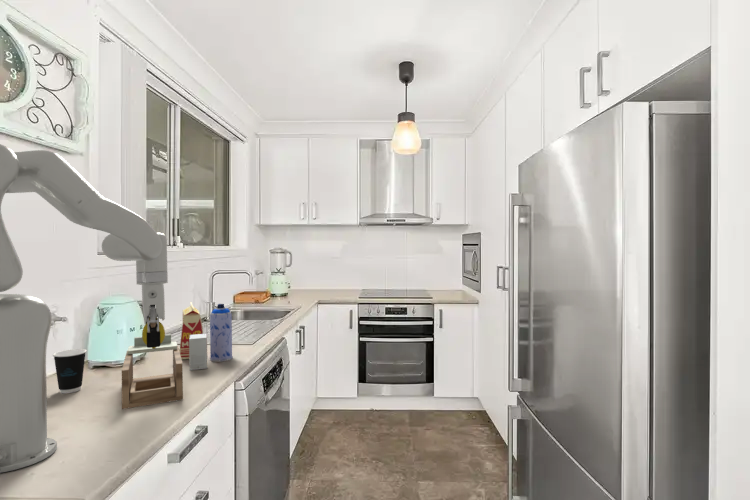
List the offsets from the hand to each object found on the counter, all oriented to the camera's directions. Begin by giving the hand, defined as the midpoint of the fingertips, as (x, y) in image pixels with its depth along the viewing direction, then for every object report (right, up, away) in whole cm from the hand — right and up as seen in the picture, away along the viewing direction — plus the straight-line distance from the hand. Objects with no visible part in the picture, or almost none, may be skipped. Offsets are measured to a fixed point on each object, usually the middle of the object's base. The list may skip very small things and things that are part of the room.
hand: (153, 343), depth 116 cm
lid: (-7, -4, +13) cm, 15 cm away
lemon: (0, -1, 0) cm, 1 cm away
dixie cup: (-27, -15, +6) cm, 31 cm away
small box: (0, -14, +30) cm, 33 cm away
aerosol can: (+4, -14, +40) cm, 43 cm away
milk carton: (-8, -14, +44) cm, 47 cm away
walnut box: (-3, -14, +5) cm, 16 cm away
